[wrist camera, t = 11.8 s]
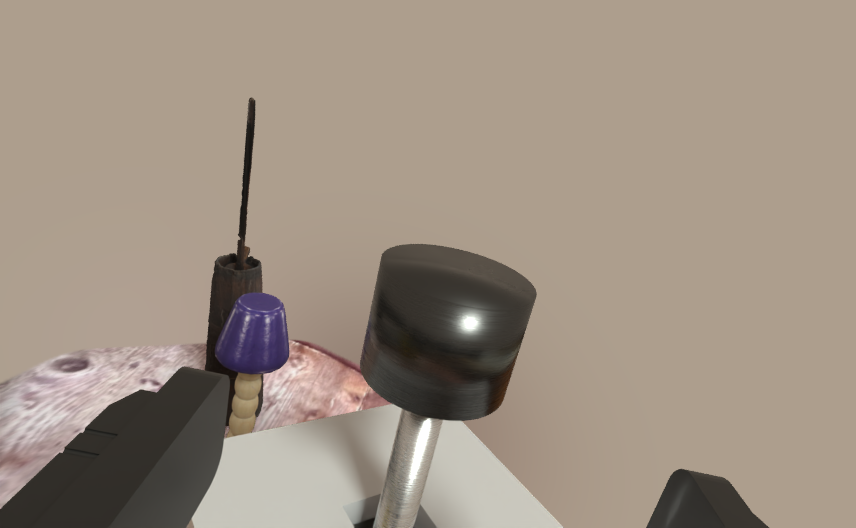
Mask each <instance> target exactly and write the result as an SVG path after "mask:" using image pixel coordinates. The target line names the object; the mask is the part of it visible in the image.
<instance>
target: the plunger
mask: <svg viewBox="0 0 856 528" xmlns="http://www.w3.org/2000/svg"><path fill="white" fill-rule="evenodd" d="M535 299H536V290H535V288H534V286H533V285H532V284H531V282H529V281H528V280H527V279H526V278H525V277H524V276H522V275H521V274H519V273H518V272H516V271H515V270H513V269H511V268H509V267H507V266H505V265H503V264H501V263H498V262H496V261H494V260H491V259H488V258H486V257H483V256H480V255H477V254H474V253H470V252H467V251H463V250H459V249H454V248H449V247H444V246H436V245H426V244H408V245H399V246H395V247H392V248H390V249H387V250H386V251H385V252H384V253H383V254H382V257H381V262H380V267H379V271H378V276H377V282H376V286H375V291H374V296H373V301H372V306H371V311H370V316H369V321H368V326H367V330H366V336H365V340H364V346H363V350H362V355H361V360H360V369H361V373H362V375H363V377H364V379H365V380H366V382H367V383H368V385H369V386H370V387H371V388H372V389H373V390H374V391H375V392H376V393H377V394H379V395H380V396H381V397H383V398H384V399H385V400H387V401H388V402H390V403H392V404H394V405H396V406H397V407H400V408H402V410H401V414H400V418H399V422H398V426H397V430H396V435H395V439H394V443H393V447H392V451H391V455H390V459H389V463H388V468H387V472H386V476H385V480H384V484H383V488H382V492H381V497H380V501H379V505H378V509H377V513H376V517H375V521H374V525H373V528H413V527H414V524H415V520H416V517H417V513H418V509H419V506H420V502H421V498H422V495H423V491H424V488H425V484H426V480H427V477H428V473H429V469H430V466H431V462H432V459H433V455H434V451H435V448H436V444H437V440H438V437H439V433H440V430H441V426H442V422H443V420H448V421H465V420H472V419H478V418H481V417H484V416H487V415H489V414H491V413H492V412H494V411H495V410H497V409H498V408H499V406H500V405H501V404H502V402H503V400H504V397H505V394H506V390H507V387H508V384H509V381H510V378H511V374H512V371H513V368H514V365H515V362H516V359H517V356H518V353H519V349H520V346H521V343H522V340H523V337H524V334H525V330H526V327H527V324H528V321H529V318H530V315H531V311H532V308H533V305H534V302H535Z"/></svg>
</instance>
